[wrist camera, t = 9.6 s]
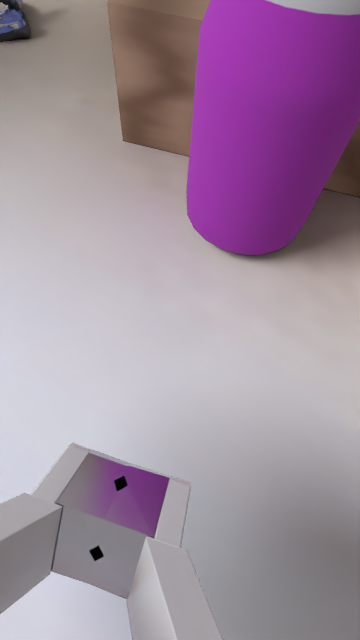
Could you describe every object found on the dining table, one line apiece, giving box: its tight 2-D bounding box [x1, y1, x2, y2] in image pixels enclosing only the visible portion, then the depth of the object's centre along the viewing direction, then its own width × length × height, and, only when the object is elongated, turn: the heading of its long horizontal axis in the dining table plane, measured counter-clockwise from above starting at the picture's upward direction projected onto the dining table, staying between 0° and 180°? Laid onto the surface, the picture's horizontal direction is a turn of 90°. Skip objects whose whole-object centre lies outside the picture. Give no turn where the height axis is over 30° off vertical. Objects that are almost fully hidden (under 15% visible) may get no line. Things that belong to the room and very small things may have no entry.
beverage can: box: [186, 0, 360, 255], centre depth 16 cm, size 8×8×12 cm
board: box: [107, 0, 360, 197], centre depth 21 cm, size 20×3×8 cm, turn 73°
